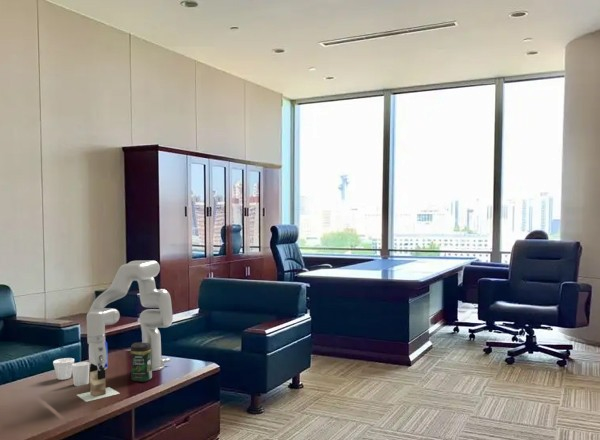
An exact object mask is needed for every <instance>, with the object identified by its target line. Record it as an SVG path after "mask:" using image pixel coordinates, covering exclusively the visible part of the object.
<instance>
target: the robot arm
mask: <svg viewBox="0 0 600 440" xmlns="http://www.w3.org/2000/svg"><path fill="white" fill-rule="evenodd" d="M160 271H161V266H160V264H159V262H158V261H156V260H150V259H149V260H132V261H129V262H128V263H124V264H122V265H120V266H119V268H118V269H117V271H116V274H115V276H114V278H113V280H112V283H111V284H110V286H109V287H108V288H107V289H106V290H104V291H103V292H102V293H100V294H99V295H98V296H97V297H96V298H95V299H94V300H93V301H92V304H91V305H90V308H89V310H88V313H87V314H86V335H87V337H86V338H87V342H86V343H87V344H88V360H89V361H88V362H89V373H90V372H93V371H97V367H98V371H97V372H98V380H100V379H105V380H106V370H105V364H106V363H107V358H106V348H105V341H106V327H105V326H110V325H112V326H113V325H115V324H117V322H118V321H119V320H120V317H121V315H120V311H119V310H118V309H117V308H111V307H108V308H107V305H109V304H110V303H113V302H115V301H117V300H120V299H123V298H124V297H125V296H127V294H128V292H129V290H130V288H131V286H132V283H133V282H134V281H135V282H137V284H138V289H139V290H138V292H139V299H140V304H141V306H142V307H144V308H148V309H144V310H142V311H141V313H140V314H139V324H140V330H141V340H142V341H141V342H142V343H150V344H151V353H150V361H151V370H152V372H156V371H159V370H163V369H165V363H170V362H171V359H170V357H169V358H162V341H161V339H162V338H161V332H160V330H159V329H158V328H160V329H161V328H163V329H164V328H169V327H170V326H171V325H172V323H173V319H174V318H173V308H172V306H173V305H172V299H171V295H170V292H169V291H168V290H166V289H157V287H156V281H155V277H157V276H158V274H159V273H160ZM149 308H150V309H149ZM152 308H153V309H152ZM156 308H157V309H156ZM98 363H99V364H98Z"/></svg>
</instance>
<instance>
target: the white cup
mask: <svg viewBox="0 0 600 440" xmlns="http://www.w3.org/2000/svg"><path fill="white" fill-rule="evenodd" d="M72 379H73V386H75V387H80V386H84V385H89V384H90V362H89V361H79V362H74V363H73V364H72Z"/></svg>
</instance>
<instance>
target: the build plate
mask: <svg viewBox="0 0 600 440" xmlns="http://www.w3.org/2000/svg"><path fill="white" fill-rule="evenodd" d="M120 394H121V393H120V392H119V391H117V390H115V389H113V388H111V387H109V386H108V387H106V394H104V395H100V396H96V397H94V396H93V395H91V391H87V392H84V393H83V392H82V393H79V394H78V393H77V394H76V396H77V397H78V398H80V399H81V400H83V401H84V402H85V403H86V402H91V401H95V400H96V401H97V400H99V399H103V398H107V397H111V396H115V395H120Z"/></svg>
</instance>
